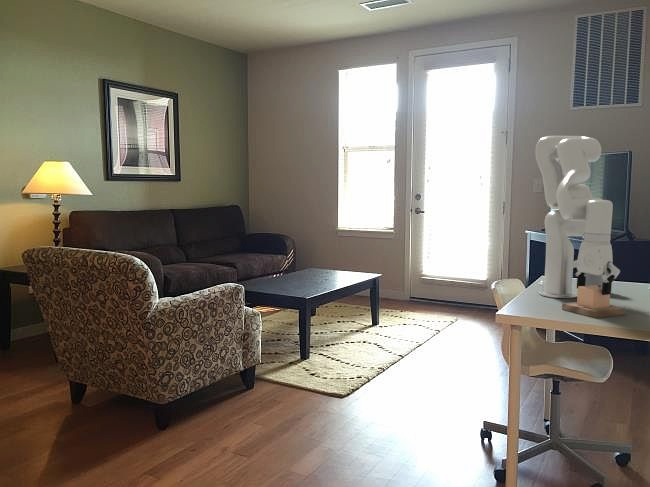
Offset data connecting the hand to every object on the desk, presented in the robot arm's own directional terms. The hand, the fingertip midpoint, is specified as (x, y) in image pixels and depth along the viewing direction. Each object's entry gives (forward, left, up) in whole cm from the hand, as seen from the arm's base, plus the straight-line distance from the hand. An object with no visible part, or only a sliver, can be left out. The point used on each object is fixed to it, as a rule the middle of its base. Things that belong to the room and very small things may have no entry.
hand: (593, 291), depth 179 cm
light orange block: (+1, 0, -5) cm, 5 cm away
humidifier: (-10, +12, -7) cm, 17 cm away
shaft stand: (+1, 0, -7) cm, 7 cm away
